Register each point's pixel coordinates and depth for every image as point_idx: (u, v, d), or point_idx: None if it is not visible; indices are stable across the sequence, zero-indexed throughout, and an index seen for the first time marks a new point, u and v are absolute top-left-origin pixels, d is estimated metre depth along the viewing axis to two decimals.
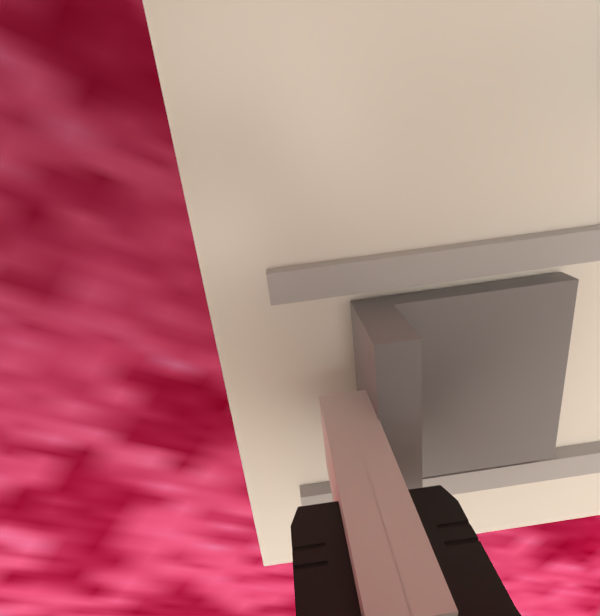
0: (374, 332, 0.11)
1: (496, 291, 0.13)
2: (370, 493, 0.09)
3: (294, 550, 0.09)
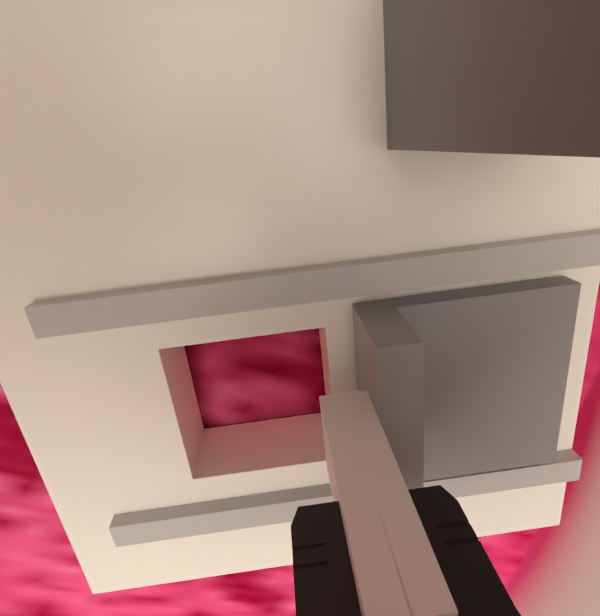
0: (376, 335, 0.11)
1: (498, 295, 0.13)
2: (370, 493, 0.09)
3: (294, 550, 0.09)
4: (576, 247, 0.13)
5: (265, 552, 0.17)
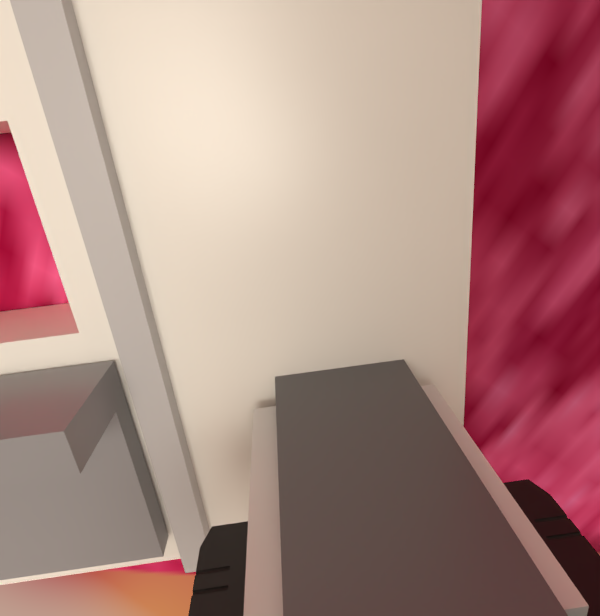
0: (79, 417, 0.10)
1: (143, 497, 0.13)
2: (279, 514, 0.09)
3: (198, 573, 0.08)
4: (196, 541, 0.14)
5: None
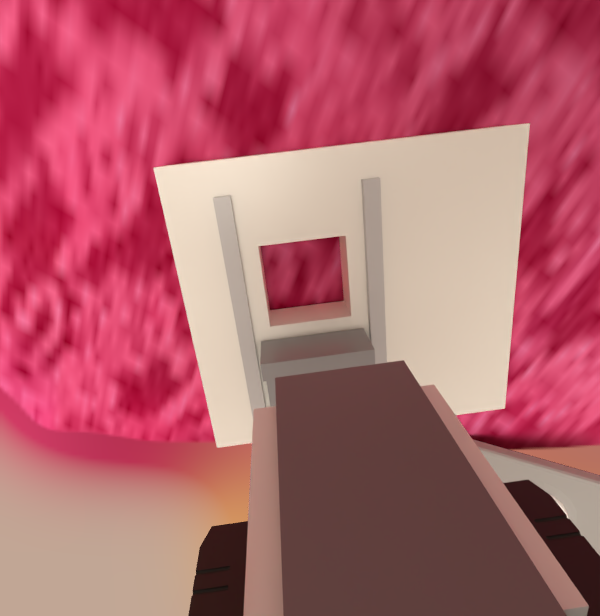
0: (372, 346, 0.26)
1: None
2: (279, 514, 0.09)
3: (198, 573, 0.08)
4: None
5: (195, 287, 0.27)
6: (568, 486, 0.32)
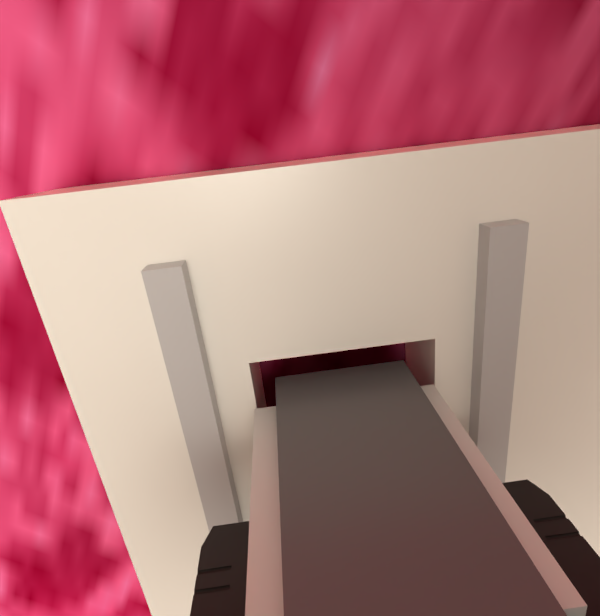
0: None
1: None
2: None
3: (199, 573, 0.08)
4: None
5: (119, 442, 0.13)
6: None
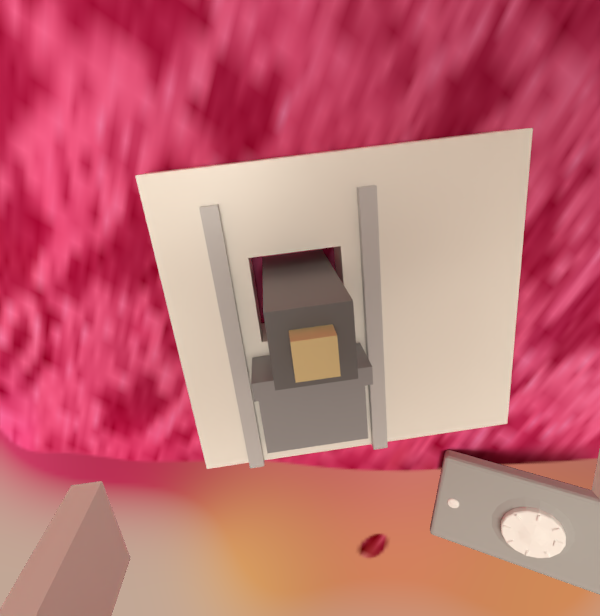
0: (369, 363, 0.25)
1: (365, 406, 0.28)
2: None
3: None
4: (382, 431, 0.29)
5: (182, 301, 0.25)
6: (565, 504, 0.31)
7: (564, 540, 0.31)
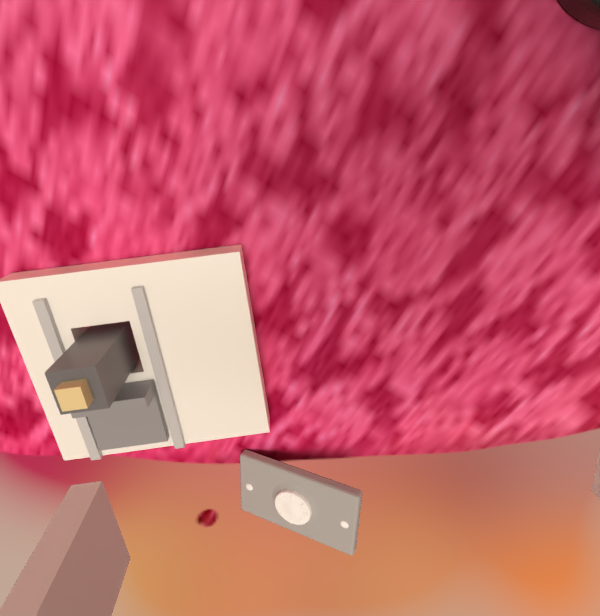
0: (147, 394, 0.39)
1: (161, 420, 0.42)
2: None
3: None
4: (178, 437, 0.44)
5: (31, 354, 0.40)
6: (308, 487, 0.45)
7: (308, 512, 0.46)
